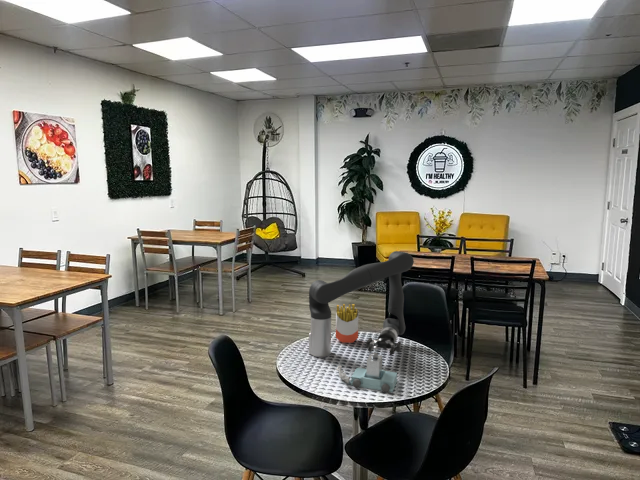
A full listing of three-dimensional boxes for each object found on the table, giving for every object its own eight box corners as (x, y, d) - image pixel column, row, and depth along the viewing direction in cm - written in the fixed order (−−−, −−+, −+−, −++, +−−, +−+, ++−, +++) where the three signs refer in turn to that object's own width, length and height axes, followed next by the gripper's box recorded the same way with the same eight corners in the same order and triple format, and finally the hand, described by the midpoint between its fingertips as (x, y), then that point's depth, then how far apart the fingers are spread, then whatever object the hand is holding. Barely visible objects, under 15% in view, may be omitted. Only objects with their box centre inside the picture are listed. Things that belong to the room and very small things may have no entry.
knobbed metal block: (366, 382, 166) (366, 355, 165) (369, 375, 172) (370, 350, 170) (378, 384, 165) (379, 357, 163) (381, 377, 170) (382, 351, 169)
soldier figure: (349, 375, 177) (360, 378, 166) (342, 384, 175) (353, 389, 164) (335, 362, 176) (346, 365, 165) (328, 372, 175) (338, 375, 163)
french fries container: (358, 343, 209) (359, 306, 207) (335, 342, 210) (336, 306, 207) (357, 339, 214) (358, 304, 211) (335, 339, 214) (336, 303, 212)
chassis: (350, 386, 165) (350, 377, 164) (358, 373, 177) (358, 364, 176) (391, 393, 160) (392, 384, 159) (397, 379, 171) (397, 370, 171)
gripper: (372, 327, 194) (363, 340, 179) (404, 331, 189) (398, 344, 174) (371, 343, 195) (363, 357, 180) (403, 348, 190) (397, 362, 175)
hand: (380, 351), depth 177 cm, fingers open, 8 cm apart
